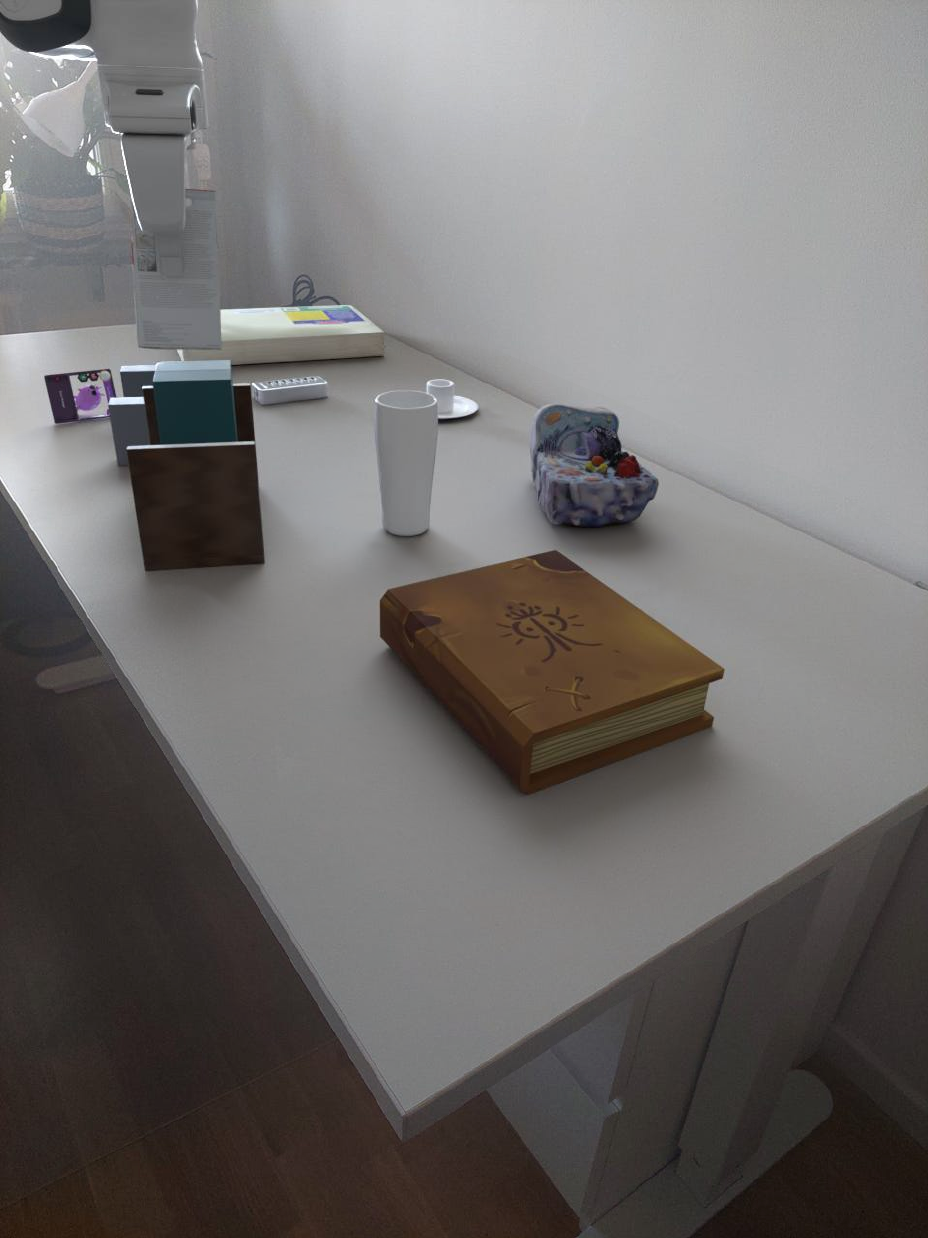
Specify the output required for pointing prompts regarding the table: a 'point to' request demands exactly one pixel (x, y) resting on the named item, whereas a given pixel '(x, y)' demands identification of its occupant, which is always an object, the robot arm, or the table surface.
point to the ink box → (179, 283)
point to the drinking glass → (406, 458)
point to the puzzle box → (292, 335)
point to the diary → (548, 666)
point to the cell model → (586, 468)
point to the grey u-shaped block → (130, 410)
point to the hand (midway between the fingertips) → (174, 270)
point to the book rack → (198, 495)
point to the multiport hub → (290, 390)
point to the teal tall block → (195, 402)
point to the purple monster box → (85, 400)
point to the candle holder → (450, 400)
